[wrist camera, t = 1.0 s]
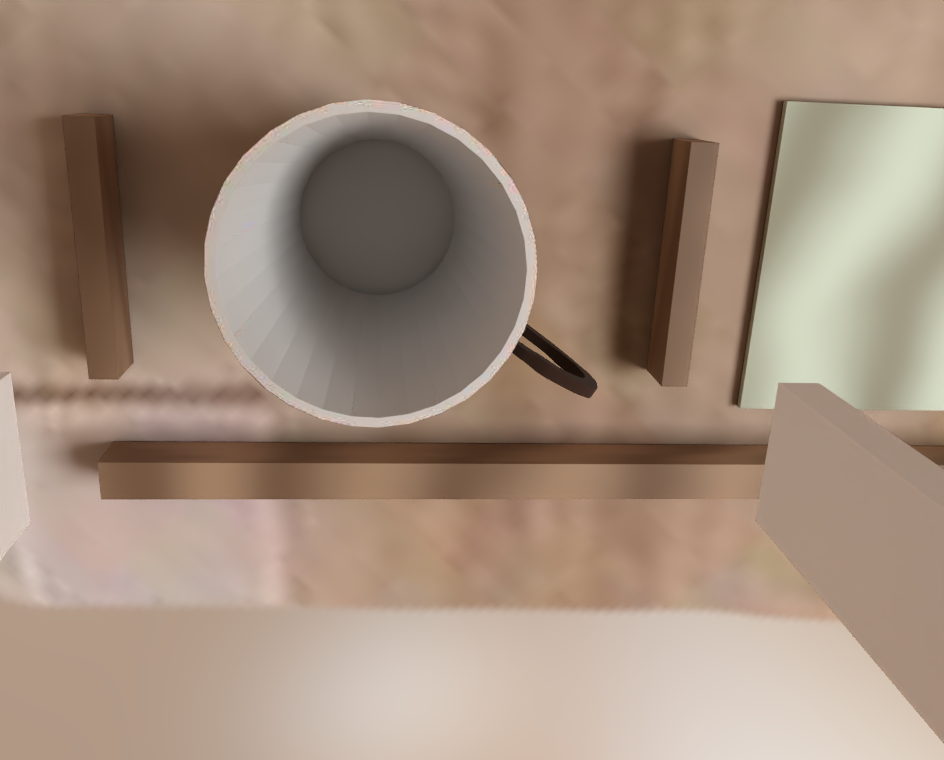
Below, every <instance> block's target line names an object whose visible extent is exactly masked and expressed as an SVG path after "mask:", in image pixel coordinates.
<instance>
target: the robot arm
mask: <svg viewBox="0 0 944 760" xmlns="http://www.w3.org/2000/svg"><path fill="white" fill-rule="evenodd" d="M756 521H757V523H758V524H759V525H760V526H761V527H762V529H763V530H764V531H765V532H766V533H767V535H768V536H769V537H770V538H771V539H772V540H773V542H774V543H775V544H776V545H777V546H778V548H779V549H780V550H781V551H782V552H783V553H784V555H785V556H786V557H787V558H788V559H789V561H790V562H791V563H792V564H793V565H794V567H795V568H796V569H797V570H798V571H799V572H800V574H801V575H802V576H803V577H804V578H805V580H806V581H807V582H808V583H809V584H810V585H811V587H812V588H813V589H814V590H815V591H816V593H817V594H818V595H819V596H820V597H821V599H822V600H823V601H824V602H825V603H826V604H827V606H828V607H829V608H830V609H831V610H832V612H833V613H834V614H835V615H836V616H837V617H838V619H839V620H840V621H841V622H842V623H843V625H844V626H845V627H846V628H847V629H848V631H849V632H850V633H851V634H852V635H853V636H854V638H856V640H857V641H858V642H859V644H860V645H861V646H862V647H863V648H864V649H865V651H866V652H867V653H868V654H869V655H870V657H871V658H872V659H873V660H874V661H875V663H876V664H877V665H878V666H879V667H880V668H881V670H882V671H883V672H884V673H885V674H886V676H887V677H888V678H889V679H890V680H891V681H892V683H893V684H894V685H895V686H896V687H897V689H898V690H899V691H900V692H901V693H902V695H904V697H905V698H906V699H907V700H908V701H909V703H910V704H911V705H912V706H913V707H914V709H915V710H916V711H917V712H918V713H919V714H920V716H921V717H922V718H923V719H924V721H925V722H926V723H927V724H928V725H929V726H930V728H931V729H932V730H933V731H934V732H935V734H936V735H937V736H938V737H939V738H940V740H941V741H942V742H943V743H944V469H942V468H941V467H940V466H938V465H937V464H935V463H934V462H932V461H931V460H929V459H928V458H927V457H925V456H924V455H922V454H921V453H919V452H918V451H916V450H915V449H914V448H912V447H911V446H909V445H908V444H906V443H905V442H903V441H902V440H901V439H899V438H898V437H896V436H895V435H893V434H892V433H890V432H889V431H888V430H886V429H885V428H883V427H882V426H880V425H879V424H877V423H876V422H875V421H873V420H872V419H870V418H869V417H867V416H866V415H864V414H863V413H862V412H860V411H859V410H857V409H856V408H854V407H853V406H851V405H850V404H849V403H847V402H846V401H844V400H843V399H841V398H840V397H838V396H837V395H836V394H834V393H833V392H831V391H830V390H828V389H827V388H825V387H824V386H823V385H821V384H820V383H778V388H777V394H776V400H775V406H774V412H773V418H772V424H771V430H770V436H769V442H768V448H767V454H766V460H765V466H764V472H763V478H762V484H761V490H760V496H759V502H758V508H757V514H756ZM29 524H30V516H29V508H28V501H27V493H26V486H25V478H24V471H23V463H22V455H21V448H20V440H19V433H18V425H17V418H16V410H15V402H14V395H13V387H12V380H11V372H0V559H1V558H2V557H3V556H4V555H5V553H6V552H7V551H8V550H9V548H10V547H11V546H12V545H13V543H14V542H15V541H16V540H17V539H18V537H19V536H20V535H21V534H22V532H23V531H24V530H25V529H26V527H27V526H28V525H29Z"/></svg>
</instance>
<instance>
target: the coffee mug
mask: <svg viewBox="0 0 944 760" xmlns="http://www.w3.org/2000/svg"><path fill="white" fill-rule="evenodd" d="M537 272H538V266H537V253H536V241H535V235H534V232H533V228H532V225H531V221H530V218H529V214H528V211H527V207H526V205H525V203H524V201H523V199H522V197H521V195H520V193H519V191H518V189H517V187H516V185H515V184H514V182H513V180H512V178H511V176H510V175H509V174H508V173H507V171H506V170H505V169H504V168H503V166H502V165H501V164H500V163H499V161H498V160H497V159H496V157H495V156H494V155H493V154H492V152H491V151H490V150H488V149H487V148H486V147H485V146H484V145H483V144H481V143H480V142H479V141H478V140H477V139H475V138H474V137H473V136H472V135H471V134H469V133H468V132H467V131H466V130H465V129H463V128H461V127H459V126H457V125H456V124H454V123H452V122H450V121H448V120H446V119H445V118H443V117H441V116H439V115H437V114H435V113H433V112H430V111H427V110H423V109H420V108H417V107H414V106H410V105H407V104H404V103H400V102H390V101H379V100H368V99H364V100H355V101H346V102H337V103H330V104H327V105H324V106H321V107H318V108H315V109H312V110H309V111H306V112H303V113H300V114H298V115H296V116H294V117H293V118H291V119H289V120H287V121H286V122H284V123H282V124H281V125H279V126H277V127H275V128H274V129H272V130H270V131H269V132H268V133H266V134H265V135H264V136H263V137H262V138H261V139H260V140H259V141H258V142H257V143H255V144H254V145H253V146H252V147H251V148H250V149H249V150H248V151H247V152H246V153H245V154H243V156H242V157H241V159H240V160H239V161H238V163H237V164H236V166H235V167H234V168H233V170H232V171H231V173H230V174H229V175H228V177H227V178H226V180H225V181H224V183H223V185H222V188H221V190H220V192H219V194H218V197H217V199H216V201H215V204H214V206H213V208H212V211H211V213H210V218H209V223H208V228H207V233H206V238H205V243H204V279H205V284H206V288H207V293H208V298H209V303H210V307H211V311H212V313H213V315H214V318H215V320H216V322H217V325H218V327H219V329H220V332H221V334H222V336H223V339H224V340H225V342H226V343H227V345H228V346H229V348H230V349H231V351H232V352H233V354H234V355H235V357H236V358H237V360H238V361H239V362H240V364H241V365H242V367H243V368H244V369H245V370H246V371H247V372H249V373H250V374H251V375H252V376H253V377H254V378H255V379H256V380H257V381H258V382H259V383H260V384H261V385H262V386H263V387H264V388H265V389H266V390H268V391H269V392H271V393H272V394H273V395H275V396H276V397H278V398H279V399H281V400H282V401H284V402H285V403H287V404H288V405H290V406H291V407H294V408H296V409H298V410H301V411H303V412H305V413H307V414H310V415H312V416H314V417H316V418H319V419H323V420H327V421H331V422H335V423H339V424H344V425H348V426H361V427H388V426H395V425H403V424H411V423H414V422H417V421H420V420H423V419H426V418H429V417H432V416H435V415H439V414H441V413H443V412H445V411H446V410H448V409H450V408H452V407H454V406H456V405H458V404H459V403H461V402H463V401H465V400H467V399H468V398H469V397H470V396H472V395H473V394H474V393H475V392H476V391H478V390H479V389H480V388H481V387H483V386H484V385H485V384H486V383H488V382H489V381H490V380H491V379H492V378H493V376H494V375H495V374H496V373H497V372H498V370H499V369H500V368H501V367H502V366H503V364H504V363H505V362H506V361H507V360H508V358H509V357H510V356H511V354H512V353H513V354H515V355H516V356H517V357H519V358H520V359H521V360H523V361H524V362H525V363H527V364H528V365H529V366H530V367H531V368H533V369H534V370H535V371H536V372H538V373H539V374H541V375H542V376H544V377H545V378H547V379H549V380H551V381H552V382H554V383H556V384H558V385H560V386H562V387H564V388H566V389H568V390H570V391H572V392H574V393H576V394H578V395H581V396H584V397H587V398H590V397H591V396H592V395H593V393H594V392H595V391H596V389H597V383H596V381H595V380H594V379H593V378H592V376H591V375H590V374H589V373H588V372H587V371H585V370H584V369H583V368H582V367H581V366H579V365H578V364H577V363H576V362H575V361H574V360H572V359H571V358H570V357H569V356H568V355H566V354H565V353H564V352H563V351H561V350H560V349H559V348H558V347H556V346H555V345H554V344H553V343H551V342H550V341H549V340H547V339H546V338H545V337H544V336H542V335H541V334H540V333H538V332H537V331H536V330H534V329H533V328H532V327H530V326H529V325H528V324H527V321H528V318H529V315H530V312H531V309H532V306H533V303H534V298H535V289H536V281H537ZM521 336H524V337H525V338H526V339H528V340H529V341H530V342H532V343H533V344H534V345H536V346H537V347H538V348H539V349H541V350H542V351H543V352H544V353H546V354H547V355H548V356H549V357H550V358H551V359H552V360H553V361H554V362H555V363H556V364H557V365H559V366H560V367H561V368H562V369H561V368H559V367H557V366H556V365H554V364H553V363H551V362H550V361H548V360H547V359H545V358H544V357H542V356H541V355H539V354H538V353H536V352H534V351H532V350H531V349H529V348H528V347H526V346H525V345H524V344H522V343H520V342H519V339H520V338H521Z"/></svg>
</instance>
